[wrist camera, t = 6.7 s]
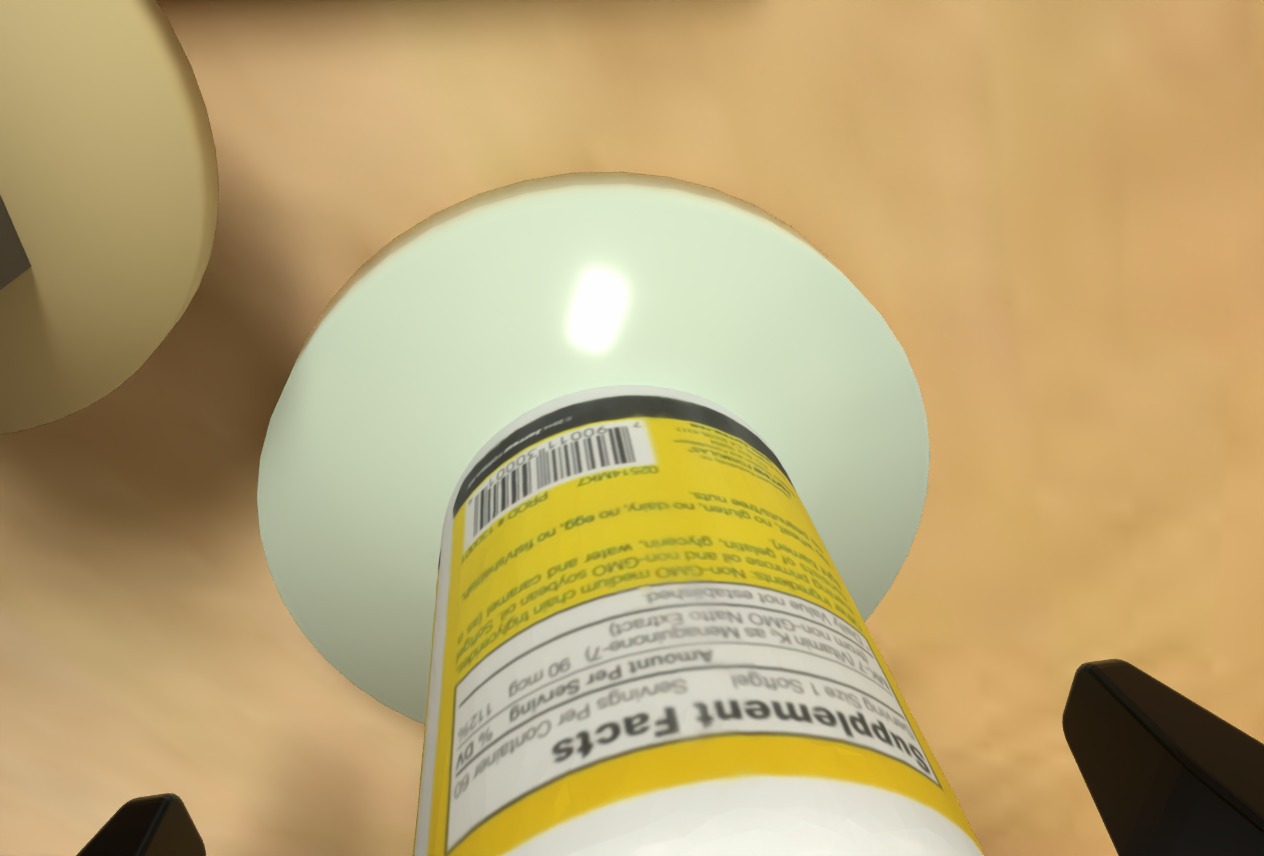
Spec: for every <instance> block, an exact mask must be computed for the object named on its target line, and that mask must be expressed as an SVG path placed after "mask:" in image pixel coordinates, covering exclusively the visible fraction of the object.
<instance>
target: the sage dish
mask: <svg viewBox="0 0 1264 856" xmlns="http://www.w3.org/2000/svg"><path fill="white" fill-rule="evenodd" d="M616 385H643V386H654V387H662V388H669V389H674V390H679V391H683V392H687V393H690V394H694V395H697V396H700V397H703V398H705V399H708V400H710V401H712V402H714V403H717V404H719V405H721V406H723V407H725V408H726V409H728V410H730V411H731V412H733V413H734V414H736V415H737V416H739V417H740V418H741V419H743V420H744V421H745V422H747V423H748V424H749V425H750V426H751V427H752V428H753V429H754V430H756V431H757V432H758V434H759V435H760V436H761V437H762V438H763V439H764V440H765V441H766V442H767V443H768V445H769V446H770V447H771V449H772V450H773V451H774V452H775V454H776V456H777V457H778V459H779V461H780V462H781V464H782V466H783V467H784V469H785V470H786V472H787V474H788V476H789V478H790V480H791V482H792V484H793V486H794V488H795V490H796V492H797V494H798V496H799V498H800V500H801V501H802V503H803V505H804V507H805V508H806V510H807V512H808V514H809V516H810V518H811V520H812V522H813V524H814V526H815V528H816V530H817V532H818V534H819V536H820V538H821V540H822V542H823V543H824V545H825V547H826V549H827V551H828V553H829V555H830V557H831V559H832V561H833V563H834V565H835V567H836V569H837V570H838V572H839V574H840V576H841V578H842V580H843V582H844V584H845V586H846V588H847V590H848V592H849V593H850V595H851V597H852V599H853V601H854V603H855V605H856V607H857V609H858V611H859V613H860V615H861V617H862V619H863V621H864V622H865V621H866V620H867V619H868V617H869V616H870V615H871V614H872V613H873V611H874V610H875V608H876V607H877V605H878V604H879V603H880V601H881V600H882V598H883V597H884V596H885V594H886V593H887V591H888V590H889V588H890V587H891V585H892V584H893V582H894V580H895V578H896V576H897V574H898V572H899V571H900V569H901V567H902V565H903V563H904V561H905V559H906V558H907V556H908V553H909V550H910V548H911V545H912V543H913V540H914V537H915V535H916V532H917V529H918V527H919V524H920V520H921V516H922V511H923V507H924V503H925V498H926V494H927V489H928V476H929V462H930V448H929V435H928V423H927V417H926V413H925V408H924V404H923V400H922V396H921V392H920V388H919V384H918V382H917V380H916V377H915V375H914V373H913V370H912V368H911V366H910V363H909V361H908V359H907V356H906V354H905V352H904V349H903V348H902V346H901V345H900V343H899V342H898V340H897V339H896V337H895V336H894V334H893V332H892V331H891V329H890V328H889V326H888V325H887V323H886V322H885V320H884V318H883V317H882V316H881V315H880V313H879V312H878V311H877V310H876V309H875V308H874V307H873V306H872V305H871V304H870V302H869V301H868V300H867V299H866V298H865V297H864V296H863V295H862V294H861V292H860V291H859V290H858V289H857V288H856V287H855V286H854V285H853V284H852V283H851V282H850V280H849V279H848V278H847V277H846V276H845V275H844V274H843V273H842V272H841V271H840V270H839V269H838V268H837V267H836V266H835V265H834V264H833V262H832V261H831V260H830V259H829V258H828V257H827V256H826V255H825V254H824V253H823V252H822V251H821V250H819V249H818V248H817V247H816V246H815V245H813V244H812V243H811V242H810V241H808V240H807V239H806V238H805V237H803V236H802V235H801V234H800V233H799V232H797V231H796V230H795V229H794V228H792V227H791V226H789V225H788V224H786V223H784V222H783V221H781V220H779V219H777V218H776V217H774V216H772V215H771V214H769V213H767V212H766V211H764V210H762V209H760V208H759V207H757V206H755V205H753V204H751V203H748V202H746V201H743V200H741V199H739V198H736V197H734V196H731V195H729V194H726V193H724V192H721V191H719V190H716V189H714V188H710V187H706V186H702V185H698V184H694V183H691V182H687V181H683V180H679V179H675V178H671V177H664V176H655V175H646V174H637V173H628V172H589V173H569V174H563V175H556V176H550V177H544V178H537V179H531V180H525V181H521V182H518V183H515V184H511V185H508V186H504V187H501V188H498V189H494V190H491V191H487V192H484V193H481V194H478V195H475V196H473V197H471V198H469V199H466V200H464V201H462V202H460V203H457V204H455V205H453V206H451V207H448V208H446V209H444V210H442V211H440V212H437V213H435V214H433V215H432V216H430V217H428V218H427V219H425V220H424V221H422V222H420V223H419V224H417V225H416V226H414V227H412V228H411V229H409V230H408V231H406V232H404V233H403V234H401V235H400V236H398V237H396V238H395V239H393V240H392V241H391V242H390V243H389V244H387V245H386V246H385V247H384V248H383V249H382V250H380V251H379V252H378V253H377V254H376V255H374V256H373V257H372V258H371V259H370V260H368V261H367V262H366V263H365V264H364V265H362V266H361V267H360V268H359V269H358V270H357V271H356V272H355V274H354V275H353V276H352V277H351V278H350V279H349V280H348V281H347V283H346V284H345V285H344V286H343V287H342V288H341V289H340V290H339V292H338V293H337V294H336V295H335V296H334V297H333V298H332V299H331V301H330V302H329V304H328V305H327V307H326V308H325V310H324V311H323V313H322V314H321V316H320V317H319V319H318V320H317V322H316V324H315V325H314V327H313V328H312V330H311V331H310V333H309V334H308V336H307V338H306V340H305V342H304V345H303V347H302V349H301V351H300V354H299V356H298V358H297V360H296V363H295V365H294V367H293V369H292V371H291V374H290V376H289V378H288V380H287V383H286V385H285V387H284V389H283V392H282V394H281V396H280V398H279V401H278V403H277V405H276V407H275V410H274V412H273V414H272V416H271V419H270V422H269V426H268V430H267V434H266V438H265V442H264V445H263V449H262V453H261V457H260V466H259V478H258V490H257V504H258V516H259V527H260V536H261V540H262V544H263V548H264V552H265V555H266V559H267V563H268V567H269V571H270V573H271V575H272V578H273V580H274V582H275V584H276V587H277V589H278V591H279V593H280V596H281V598H282V600H283V602H284V604H285V606H286V607H287V609H288V611H289V612H290V614H291V615H292V617H293V618H294V620H295V621H296V623H297V625H298V626H299V628H300V629H301V631H302V632H303V634H304V635H305V636H306V637H307V638H308V640H309V641H310V642H311V643H312V644H313V645H314V646H315V648H316V649H317V650H318V651H319V652H320V653H321V655H322V656H323V657H324V658H325V659H326V660H327V661H328V662H329V663H330V664H331V665H332V666H333V667H335V668H336V669H337V670H338V671H339V672H340V673H341V674H343V675H344V676H345V677H346V678H347V679H348V680H349V681H351V682H352V683H353V684H354V685H356V686H357V687H359V688H360V689H362V690H363V691H364V692H366V693H367V694H369V695H370V696H372V697H373V698H375V699H376V700H378V701H379V702H381V703H382V704H384V705H386V706H388V707H390V708H392V709H393V710H395V711H397V712H399V713H401V714H403V715H405V716H407V717H409V718H411V719H413V720H415V721H417V722H420V723H422V724H425V721H426V710H427V698H428V686H429V674H430V662H431V650H432V635H433V622H434V612H435V604H436V584H437V578H438V564H439V556H440V547H441V536H442V528H443V523H444V518H445V514H446V510H447V507H448V503H449V500H450V498H451V496H452V493H453V491H454V489H455V486H456V484H457V483H458V481H459V479H460V477H461V475H462V473H463V472H464V470H465V469H466V467H467V466H468V464H469V463H470V461H471V460H472V459H473V458H474V456H475V455H476V454H477V453H478V451H479V450H480V449H481V448H482V447H483V446H484V445H485V444H486V443H487V442H488V441H489V440H490V439H491V438H492V437H493V436H494V435H495V434H496V433H497V432H499V431H500V430H501V429H503V428H504V427H505V426H507V425H508V424H509V423H511V422H512V421H514V420H515V419H517V418H518V417H520V416H521V415H523V414H524V413H526V412H528V411H530V410H532V409H534V408H536V407H538V406H540V405H542V404H544V403H546V402H548V401H550V400H553V399H556V398H558V397H561V396H564V395H567V394H571V393H575V392H578V391H583V390H587V389H592V388H596V387H606V386H616Z"/></svg>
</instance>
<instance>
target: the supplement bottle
mask: <svg viewBox="0 0 1264 856" xmlns="http://www.w3.org/2000/svg"><path fill="white" fill-rule="evenodd" d="M413 856H985V855H984V853H983V850H982V848H981V846H980V844H979V842H978V840H977V838H976V836H975V834H974V832H973V831H972V829H971V827H970V825H969V823H968V821H967V819H966V817H965V815H964V813H963V811H962V809H961V807H960V805H959V803H958V801H957V799H956V797H955V795H954V793H953V791H952V789H951V787H950V785H949V783H948V781H947V779H946V778H945V776H944V774H943V772H942V770H941V768H940V766H939V765H938V763H937V761H936V759H935V757H934V755H933V753H932V751H931V750H930V748H929V746H928V744H927V742H926V740H925V738H924V736H923V735H922V733H921V731H920V729H919V727H918V725H917V723H916V721H915V719H914V717H913V715H912V713H911V711H910V710H909V708H908V706H907V704H906V702H905V700H904V698H903V696H902V694H901V692H900V690H899V688H898V687H897V685H896V683H895V681H894V679H893V677H892V675H891V673H890V671H889V669H888V667H887V665H886V663H885V661H884V659H883V657H882V655H881V653H880V651H879V649H878V647H877V645H876V644H875V642H874V640H873V638H872V636H871V634H870V632H869V630H868V629H867V627H866V625H865V623H864V621H863V619H862V617H861V615H860V613H859V611H858V609H857V607H856V605H855V603H854V601H853V599H852V597H851V595H850V593H849V592H848V590H847V588H846V586H845V584H844V582H843V580H842V578H841V576H840V574H839V572H838V570H837V569H836V567H835V565H834V563H833V561H832V559H831V557H830V555H829V553H828V551H827V549H826V547H825V545H824V543H823V542H822V540H821V538H820V536H819V534H818V532H817V530H816V528H815V526H814V524H813V522H812V520H811V518H810V516H809V514H808V512H807V510H806V508H805V507H804V505H803V503H802V501H801V500H800V498H799V496H798V494H797V492H796V490H795V488H794V486H793V484H792V482H791V480H790V478H789V476H788V474H787V472H786V470H785V469H784V467H783V466H782V464H781V462H780V461H779V459H778V457H777V456H776V454H775V452H774V451H773V450H772V449H771V447H770V446H769V445H768V443H767V442H766V441H765V440H764V439H763V438H762V437H761V436H760V435H759V434H758V432H757V431H756V430H754V429H753V428H752V427H751V426H750V425H749V424H748V423H747V422H745V421H744V420H743V419H741V418H740V417H739V416H737V415H736V414H734V413H733V412H731V411H730V410H728V409H726V408H725V407H723V406H721V405H719V404H717V403H714V402H712V401H710V400H708V399H705V398H703V397H700V396H697V395H694V394H690V393H687V392H683V391H679V390H674V389H669V388H662V387H654V386H643V385H616V386H606V387H596V388H592V389H587V390H583V391H578V392H575V393H571V394H567V395H564V396H561V397H558V398H556V399H553V400H550V401H548V402H546V403H544V404H542V405H540V406H538V407H536V408H534V409H532V410H530V411H528V412H526V413H524V414H523V415H521V416H520V417H518V418H517V419H515V420H514V421H512V422H511V423H509V424H508V425H507V426H505V427H504V428H503V429H501V430H500V431H499V432H497V433H496V434H495V435H494V436H493V437H492V438H491V439H490V440H489V441H488V442H487V443H486V444H485V445H484V446H483V447H482V448H481V449H480V450H479V451H478V453H477V454H476V455H475V456H474V458H473V459H472V460H471V461H470V463H469V464H468V466H467V467H466V469H465V470H464V472H463V473H462V475H461V477H460V479H459V481H458V483H457V484H456V486H455V489H454V491H453V493H452V496H451V498H450V500H449V503H448V507H447V510H446V514H445V518H444V523H443V528H442V536H441V547H440V556H439V564H438V578H437V584H436V604H435V612H434V622H433V635H432V650H431V662H430V674H429V686H428V698H427V710H426V721H425V733H424V744H423V754H422V765H421V777H420V788H419V800H418V811H417V821H416V831H415V841H414V851H413Z"/></svg>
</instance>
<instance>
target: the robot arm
mask: <svg viewBox="0 0 1264 856" xmlns="http://www.w3.org/2000/svg"><path fill="white" fill-rule="evenodd" d="M1062 724H1063V731H1064V735H1065V738H1066V741H1067V743H1068V745H1069V747H1070V750H1071V752H1072V754H1073V756H1074V758H1075V761H1076V763H1077V765H1078V767H1079V769H1080V772H1081V774H1082V776H1083V778H1084V780H1085V783H1086V785H1087V787H1088V789H1089V791H1090V794H1091V796H1092V798H1093V800H1094V802H1095V805H1096V807H1097V809H1098V811H1099V813H1100V816H1101V818H1102V820H1103V822H1104V824H1105V827H1106V829H1107V831H1108V833H1109V835H1110V838H1111V840H1112V842H1113V844H1114V847H1115V849H1116V851H1117V853H1118V855H1119V856H1264V744H1263V743H1261V742H1259V741H1258V740H1256V739H1254V738H1253V737H1251V736H1249V735H1248V734H1246V733H1244V732H1243V731H1241V730H1239V729H1238V728H1236V727H1234V726H1233V725H1231V724H1229V723H1228V722H1226V721H1224V720H1223V719H1221V718H1219V717H1218V716H1216V715H1214V714H1213V713H1211V712H1210V711H1208V710H1206V709H1205V708H1203V707H1201V706H1200V705H1198V704H1196V703H1195V702H1193V701H1191V700H1190V699H1188V698H1186V697H1185V696H1183V695H1181V694H1180V693H1178V692H1176V691H1175V690H1173V689H1171V688H1170V687H1168V686H1166V685H1165V684H1163V683H1161V682H1160V681H1158V680H1156V679H1155V678H1153V677H1151V676H1150V675H1148V674H1147V673H1145V672H1143V671H1142V670H1140V669H1138V668H1137V667H1135V666H1133V665H1132V664H1130V663H1128V662H1126V661H1123V660H1119V659H1109V660H1102V661H1095V662H1088V663H1084V664H1082V665H1081V666H1080V667H1079V668H1078V669H1077V671H1076V673H1075V676H1074V679H1073V682H1072V686H1071V689H1070V692H1069V696H1068V699H1067V702H1066V706H1065V709H1064V712H1063V722H1062ZM76 856H206V851H205V846H204V843H203V840H202V838H201V836H200V835H199V833H198V831H197V829H196V827H195V825H194V823H193V821H192V819H191V817H190V815H189V813H188V811H187V809H186V807H185V805H184V803H183V801H182V800H181V798H180V797H178V796H177V795H175V794H173V793H166V794H159V795H152V796H145V797H139V798H135V799H132V800H130V801H128V802H127V803H126V804H124V805H123V806H122V807H121V808H120V809H119V810H118V811H117V812H116V813H115V814H114V815H113V816H112V817H111V818H110V820H109V821H108V822H107V823H106V824H105V825H104V826H103V827H102V828H101V829H100V830H99V831H98V833H97V834H96V835H95V836H94V837H93V838H92V839H91V840H90V841H89V842H88V843H87V844H86V846H85V847H84V848H83V849H82V850H81V851H80V852H79V853H78V854H77V855H76Z"/></svg>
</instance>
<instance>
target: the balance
mask: <svg viewBox="0 0 1264 856" xmlns="http://www.w3.org/2000/svg"><path fill="white" fill-rule="evenodd" d="M218 198H219V181H218V170H217V160H216V149H215V144H214V140H213V135H212V131H211V127H210V122H209V118H208V113H207V109H206V106H205V103H204V100H203V97H202V95H201V92H200V89H199V86H198V84H197V81H196V78H195V75H194V73H193V70H192V67H191V64H190V62H189V60H188V58H187V56H186V54H185V52H184V50H183V48H182V46H181V44H180V42H179V40H178V38H177V36H176V34H175V32H174V30H173V28H172V26H171V24H170V22H169V20H168V19H167V17H166V16H165V14H164V13H163V11H162V9H161V8H160V6H159V5H158V3H157V2H156V0H0V435H1V434H7V433H14V432H20V431H23V430H27V429H30V428H34V427H37V426H41V425H44V424H47V423H51V422H54V421H57V420H59V419H61V418H64V417H66V416H68V415H71V414H73V413H75V412H77V411H80V410H82V409H84V408H86V407H88V406H90V405H91V404H93V403H95V402H96V401H98V400H99V399H101V398H103V397H104V396H106V395H107V394H109V393H111V392H112V391H114V390H115V389H117V388H118V387H119V386H120V385H121V384H122V383H123V382H125V381H126V380H127V379H128V378H129V377H130V376H132V375H133V374H134V373H135V372H136V371H137V370H138V369H140V368H141V367H142V365H143V364H144V363H145V362H146V361H147V359H148V358H149V357H150V356H151V354H152V353H153V352H154V351H155V350H156V348H157V347H158V346H159V345H160V344H161V342H162V341H163V340H164V339H165V337H166V336H167V335H168V333H169V332H170V331H171V330H172V328H173V327H174V326H175V324H176V323H177V322H178V321H179V319H180V318H181V317H182V315H183V314H184V312H185V311H186V309H187V307H188V305H189V304H190V302H191V300H192V298H193V297H194V295H195V293H196V292H197V290H198V288H199V286H200V283H201V281H202V278H203V275H204V273H205V270H206V267H207V265H208V262H209V259H210V257H211V252H212V247H213V242H214V237H215V232H216V227H217V219H218Z"/></svg>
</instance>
